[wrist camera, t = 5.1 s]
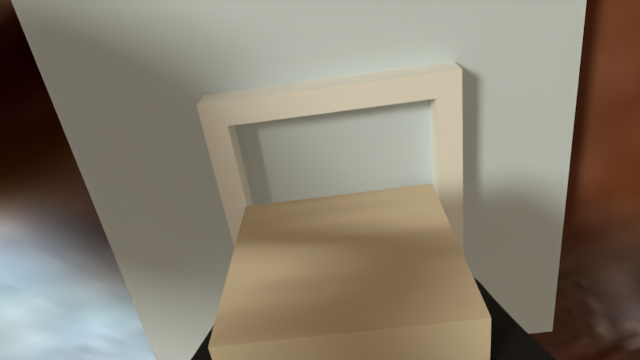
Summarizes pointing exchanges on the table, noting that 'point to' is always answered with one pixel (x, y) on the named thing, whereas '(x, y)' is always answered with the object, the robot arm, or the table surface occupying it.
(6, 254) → the table surface
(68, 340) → the table surface
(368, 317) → the maple cube
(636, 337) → the table surface
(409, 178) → the board
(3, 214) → the table surface
